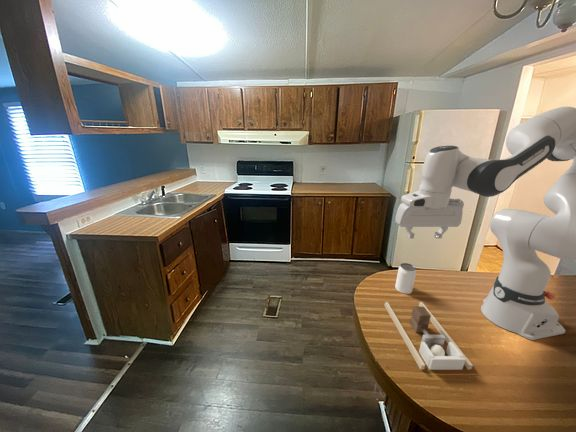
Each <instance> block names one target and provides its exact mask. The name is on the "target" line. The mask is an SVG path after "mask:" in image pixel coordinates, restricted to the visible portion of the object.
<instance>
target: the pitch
mask: <svg viewBox="0 0 576 432" xmlns="http://www.w3.org/2000/svg"><path fill="white" fill-rule="evenodd" d="M384 307H385V309H386V311H387V313H388V315H389V316H390V318H391V320H392V321H393V324H394V325H395V327H396V329H397V330H398V332H399V334H400V336H401V338H402V340H403V341H404V343H405V344H406V347H407V348H408V350H409V352H410V354H411V355H412V357H413V359H414V361H415V362H416V364H417V367H418V368H419V371H420V370H422V371H423V370H425V368H426V363H425V361H424V360H423V358H422V356H421V355H420V353H419V351H417V349H416V347H415V345H414V344H413V342H412V340H411V339H410V337H409V335H408V334H407V332H406V331H405V328H404V327H403V325H402V323H401V322H400V320H399V319H398V317H397V315H396V313H395V312H394V310H393V309H392V307H391V306H390V303H389V302H388V301H385V302H384ZM418 307H425V309H426V310H427V311H428V312H429V314H430V315H431V317H430V321H429V322H431V324H432V325H433V326H434V327H435V329H436V330H437V331H438V333H439V335H444V337H445V341H444V342H446V343H447V344H448V343H449V342H453V344H454V345H455V346H456V348H457V349H458V350H459V351H460V353H461V354H462V355H463V356H464V358H465V359H466V360H465V363H464V367H465V368H466V370H470V371H471V370H473V369H472V368H473V366H474V364H472V362H471V361H470V360H469V358H468V356H466V355H465V354H464V353H463V351H462V350H461V349H460V347H459V346H458V345H457V344H456V342H455V341H454V339H453V338H452V337H451V336H450V335H449V334H448V332H447V331H446V330H445V328H443V325H441V324H440V321H438V320H437V318H436V317H435V316H434V315H433V314H432V312H431V311H430V309H428V308H427V306H426V305H425V304H424V302H423V301H419V302H418Z"/></svg>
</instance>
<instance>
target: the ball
mask: <svg viewBox="0 0 576 432" xmlns="http://www.w3.org/2000/svg"><path fill="white" fill-rule="evenodd" d="M430 351H431V352H432V354H433V355H434V356H446V355H445V354H446V350H445V349H444V347H443V348H442V347H441V346H440V345H432V346H431V349H430Z"/></svg>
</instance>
